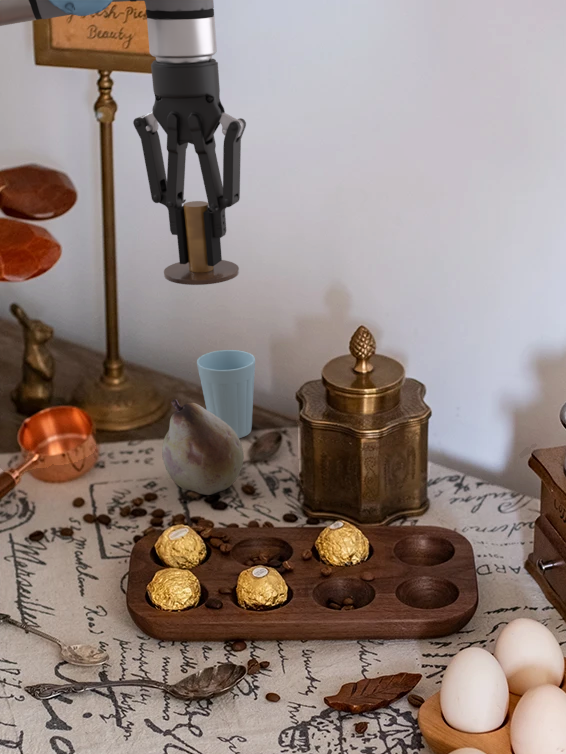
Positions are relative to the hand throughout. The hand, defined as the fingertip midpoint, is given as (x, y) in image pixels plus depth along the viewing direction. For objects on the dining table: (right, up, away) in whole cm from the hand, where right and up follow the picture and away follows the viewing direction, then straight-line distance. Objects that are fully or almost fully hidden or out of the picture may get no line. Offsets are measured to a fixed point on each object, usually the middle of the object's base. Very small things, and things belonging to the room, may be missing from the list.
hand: (200, 261), depth 136 cm
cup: (+2, -20, +15) cm, 25 cm away
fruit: (+1, -28, +1) cm, 28 cm away
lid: (0, -1, +1) cm, 2 cm away
